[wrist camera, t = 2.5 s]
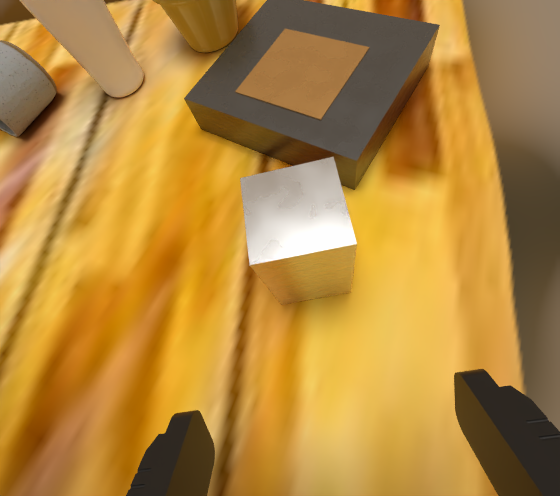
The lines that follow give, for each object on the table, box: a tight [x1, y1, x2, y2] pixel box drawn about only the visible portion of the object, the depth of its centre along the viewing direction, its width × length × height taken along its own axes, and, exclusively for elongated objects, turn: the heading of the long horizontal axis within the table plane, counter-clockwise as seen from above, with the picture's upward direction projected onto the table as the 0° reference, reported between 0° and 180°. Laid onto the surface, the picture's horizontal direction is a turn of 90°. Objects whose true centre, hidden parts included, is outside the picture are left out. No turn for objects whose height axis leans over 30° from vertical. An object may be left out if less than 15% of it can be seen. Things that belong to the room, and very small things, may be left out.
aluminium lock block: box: [240, 157, 357, 305], centre depth 21 cm, size 6×6×10 cm
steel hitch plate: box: [184, 0, 440, 190], centre depth 31 cm, size 18×16×4 cm
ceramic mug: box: [0, 41, 57, 137], centre depth 37 cm, size 11×8×8 cm
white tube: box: [20, 0, 144, 97], centre depth 32 cm, size 7×7×15 cm
